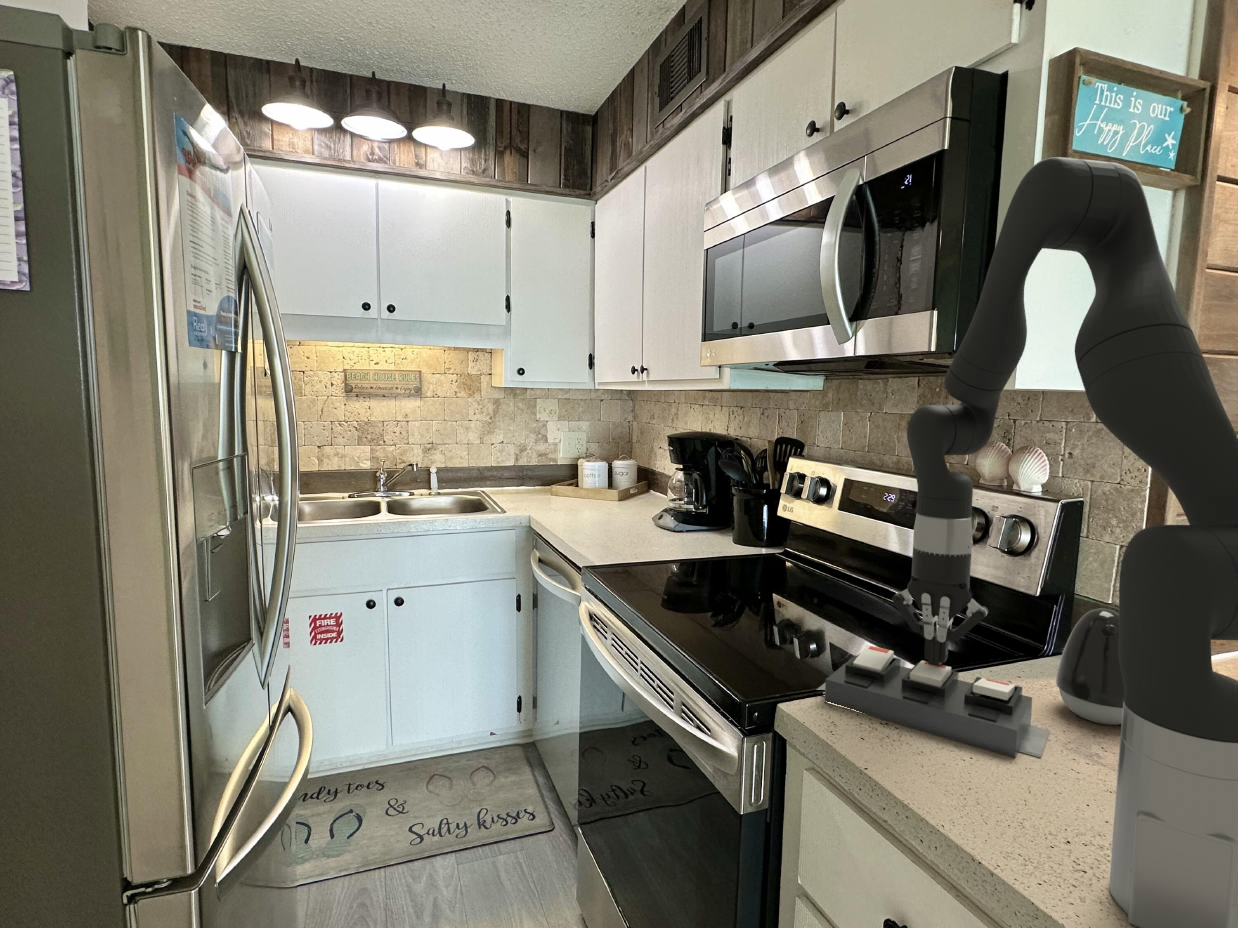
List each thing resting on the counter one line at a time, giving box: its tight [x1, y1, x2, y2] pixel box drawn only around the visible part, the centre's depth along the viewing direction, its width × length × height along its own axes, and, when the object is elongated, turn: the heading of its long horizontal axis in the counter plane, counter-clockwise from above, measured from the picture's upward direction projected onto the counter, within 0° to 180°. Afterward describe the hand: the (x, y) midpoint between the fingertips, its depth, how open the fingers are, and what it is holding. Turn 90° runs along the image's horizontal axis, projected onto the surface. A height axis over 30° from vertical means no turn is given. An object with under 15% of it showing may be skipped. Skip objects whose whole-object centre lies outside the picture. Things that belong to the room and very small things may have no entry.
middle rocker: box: [910, 660, 952, 687], centre depth 97 cm, size 6×4×1 cm, turn 141°
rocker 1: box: [853, 644, 895, 672], centre depth 102 cm, size 6×4×1 cm, turn 141°
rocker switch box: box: [816, 653, 1051, 759], centre depth 95 cm, size 12×29×5 cm, turn 51°
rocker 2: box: [973, 677, 1016, 700], centre depth 92 cm, size 6×4×1 cm, turn 141°
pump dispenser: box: [1055, 607, 1124, 726], centre depth 94 cm, size 10×10×15 cm
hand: (935, 663), depth 99 cm, fingers closed
